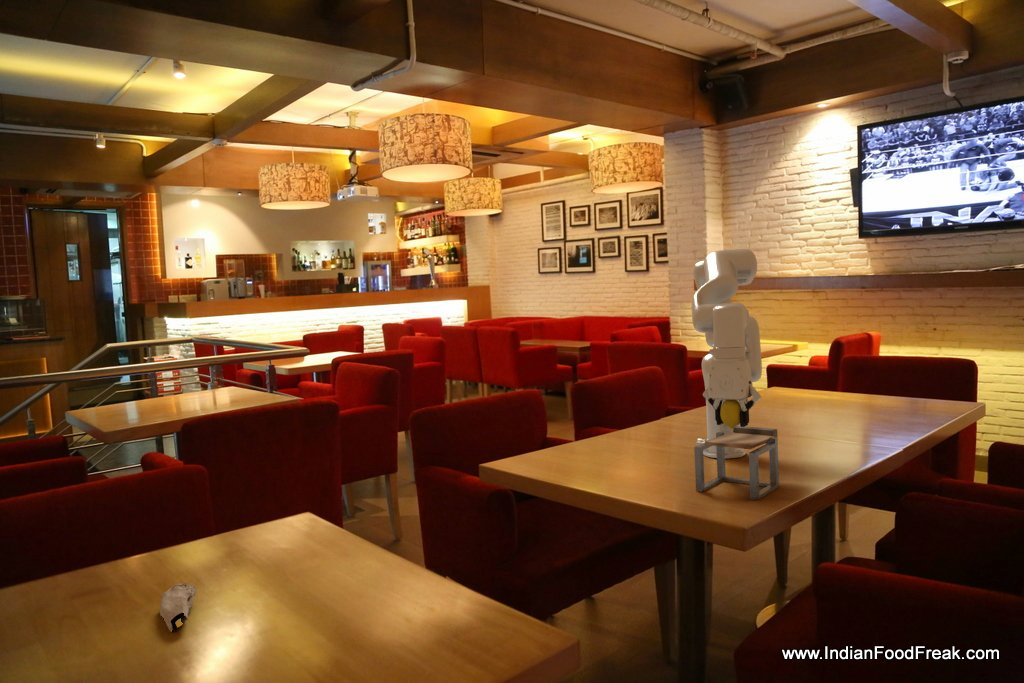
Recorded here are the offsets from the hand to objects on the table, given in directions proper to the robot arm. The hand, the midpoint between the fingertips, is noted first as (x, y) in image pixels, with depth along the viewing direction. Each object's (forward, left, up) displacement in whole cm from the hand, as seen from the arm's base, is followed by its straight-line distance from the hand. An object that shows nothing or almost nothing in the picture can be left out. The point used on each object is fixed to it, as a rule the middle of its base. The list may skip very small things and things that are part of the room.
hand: (732, 424), depth 184 cm
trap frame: (0, +2, -17) cm, 17 cm away
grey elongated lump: (-50, -119, -18) cm, 130 cm away
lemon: (0, 0, -1) cm, 1 cm away
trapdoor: (0, +6, -7) cm, 9 cm away
